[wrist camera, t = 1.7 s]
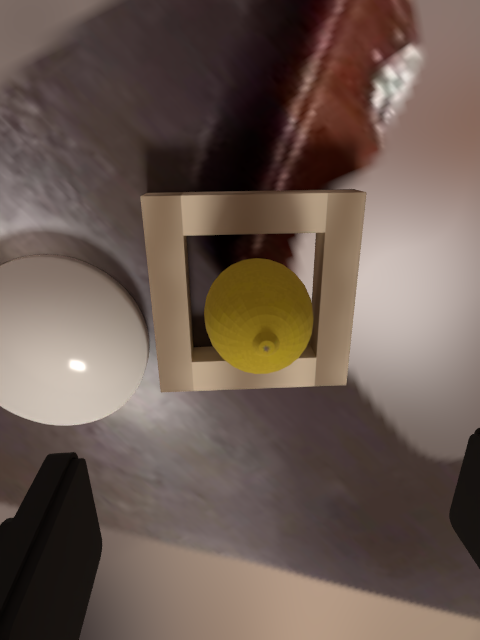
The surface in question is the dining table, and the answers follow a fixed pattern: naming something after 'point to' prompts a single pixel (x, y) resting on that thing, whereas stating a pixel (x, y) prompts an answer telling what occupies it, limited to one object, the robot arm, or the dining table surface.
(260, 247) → the dining table surface
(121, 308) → the saucer
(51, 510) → the robot arm
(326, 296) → the frame
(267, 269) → the lemon
